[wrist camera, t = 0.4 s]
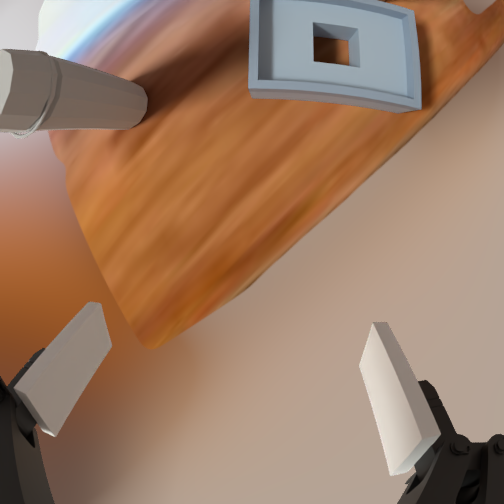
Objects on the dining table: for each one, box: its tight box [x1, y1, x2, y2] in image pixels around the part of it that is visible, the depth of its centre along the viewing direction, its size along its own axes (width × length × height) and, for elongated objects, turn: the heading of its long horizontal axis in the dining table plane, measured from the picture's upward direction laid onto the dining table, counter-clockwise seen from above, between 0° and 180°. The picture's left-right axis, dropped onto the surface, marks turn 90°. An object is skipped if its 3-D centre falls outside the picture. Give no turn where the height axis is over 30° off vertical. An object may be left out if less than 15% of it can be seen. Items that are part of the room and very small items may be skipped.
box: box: [248, 0, 422, 113], centre depth 28 cm, size 14×20×7 cm
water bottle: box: [0, 49, 148, 139], centre depth 23 cm, size 9×8×25 cm
